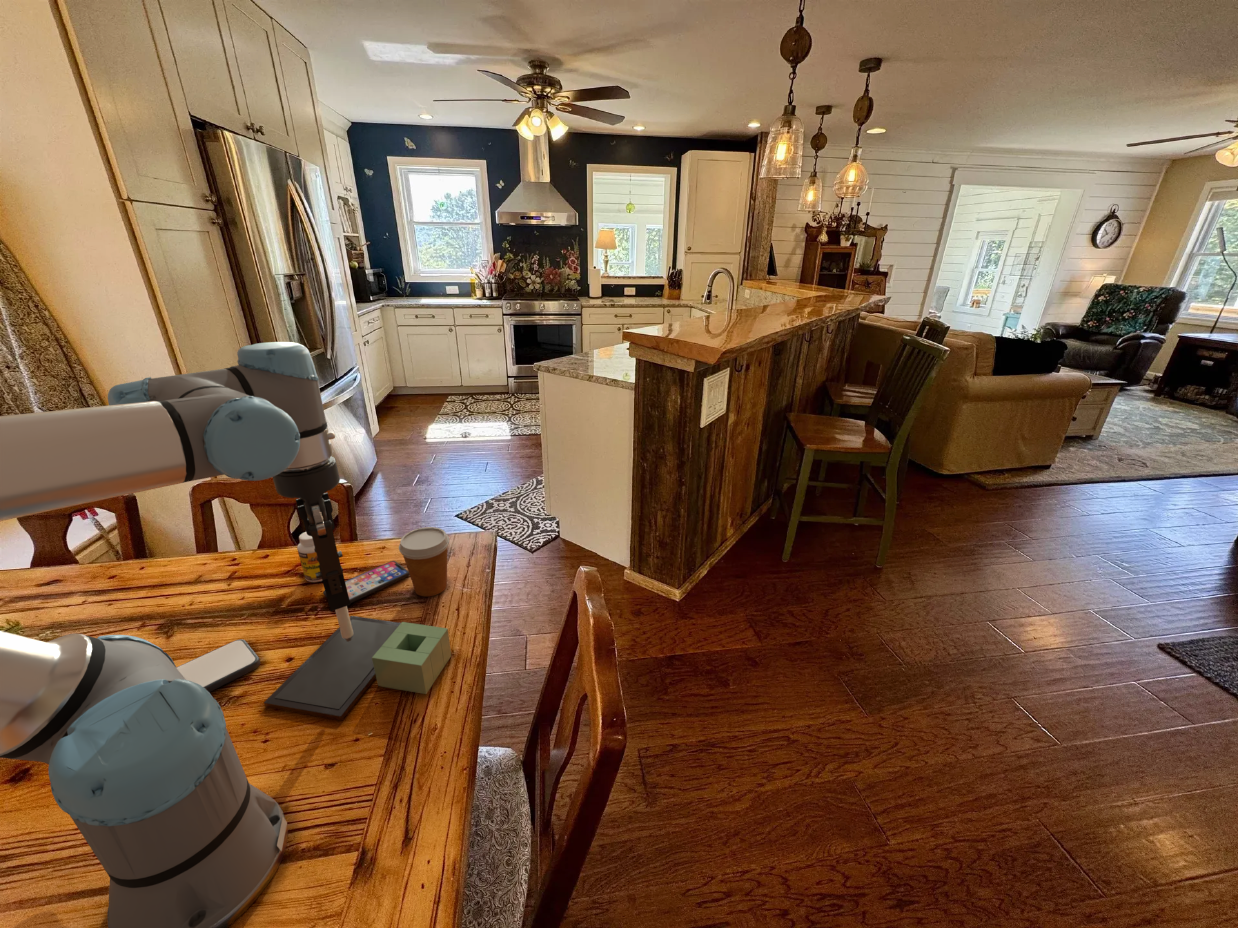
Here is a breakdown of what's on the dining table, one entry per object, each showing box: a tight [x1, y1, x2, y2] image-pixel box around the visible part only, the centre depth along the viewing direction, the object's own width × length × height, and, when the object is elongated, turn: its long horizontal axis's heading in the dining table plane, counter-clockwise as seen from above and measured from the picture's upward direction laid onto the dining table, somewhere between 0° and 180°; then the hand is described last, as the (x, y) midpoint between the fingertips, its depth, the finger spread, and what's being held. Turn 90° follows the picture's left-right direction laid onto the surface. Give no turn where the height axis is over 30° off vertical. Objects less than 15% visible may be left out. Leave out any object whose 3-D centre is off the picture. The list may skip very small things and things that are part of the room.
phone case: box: [176, 638, 261, 693], centre depth 79 cm, size 9×2×16 cm
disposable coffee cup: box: [398, 526, 450, 597], centre depth 100 cm, size 10×10×12 cm
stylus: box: [334, 606, 353, 642], centre depth 75 cm, size 2×2×15 cm
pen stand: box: [372, 621, 452, 695], centre depth 81 cm, size 8×8×6 cm
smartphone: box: [323, 560, 410, 604], centre depth 102 cm, size 8×1×15 cm
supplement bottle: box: [296, 531, 323, 583], centre depth 103 cm, size 6×6×10 cm
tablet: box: [263, 615, 402, 722], centre depth 83 cm, size 20×13×1 cm, turn 170°
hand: (339, 602), depth 75 cm, fingers closed on stylus, 1 cm apart
